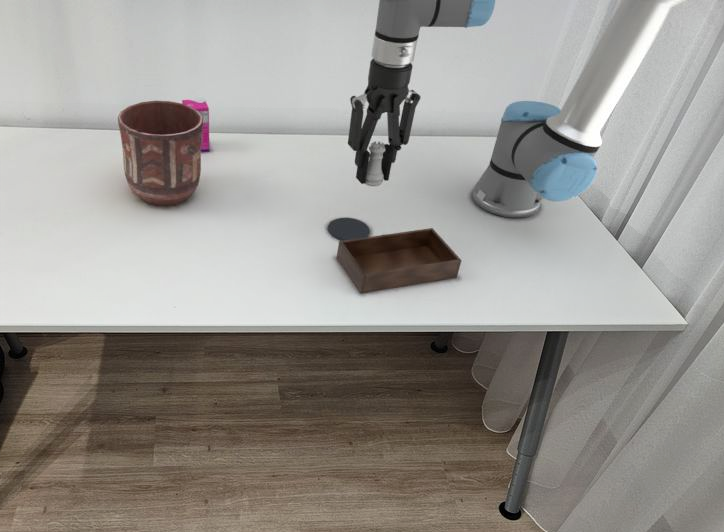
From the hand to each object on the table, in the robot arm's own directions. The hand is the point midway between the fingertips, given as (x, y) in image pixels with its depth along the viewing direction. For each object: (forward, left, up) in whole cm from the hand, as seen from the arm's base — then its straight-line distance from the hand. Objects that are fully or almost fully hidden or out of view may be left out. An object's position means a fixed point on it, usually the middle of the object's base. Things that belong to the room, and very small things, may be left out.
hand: (372, 178), depth 145 cm
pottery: (+41, -22, -15) cm, 49 cm away
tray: (-5, +10, -15) cm, 19 cm away
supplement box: (+32, -44, -15) cm, 56 cm away
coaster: (+2, -4, -15) cm, 15 cm away
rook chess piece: (0, 0, -1) cm, 1 cm away
